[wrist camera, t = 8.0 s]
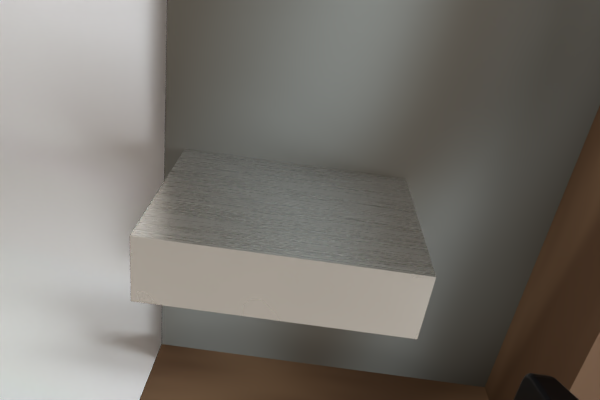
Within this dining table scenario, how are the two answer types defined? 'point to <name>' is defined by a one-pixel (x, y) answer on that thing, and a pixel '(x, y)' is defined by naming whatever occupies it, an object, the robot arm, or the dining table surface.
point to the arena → (421, 181)
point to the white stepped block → (284, 245)
